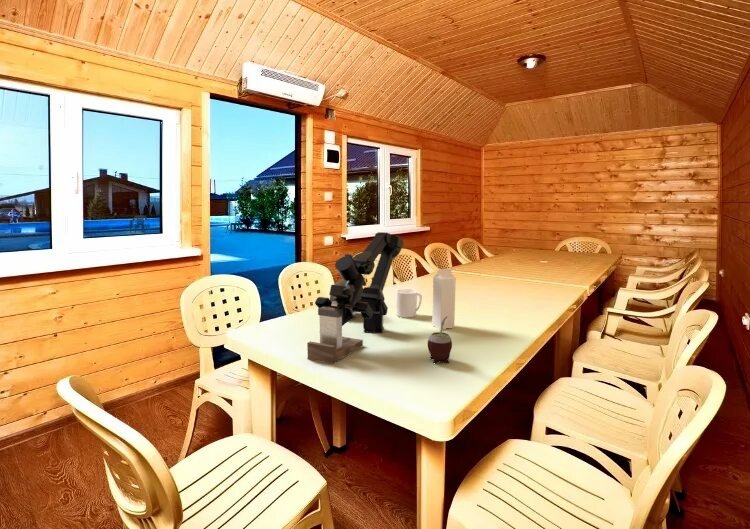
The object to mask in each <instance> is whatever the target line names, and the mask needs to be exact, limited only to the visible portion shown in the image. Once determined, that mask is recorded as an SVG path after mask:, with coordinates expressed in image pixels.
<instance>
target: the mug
mask: <svg viewBox="0 0 750 529" xmlns="http://www.w3.org/2000/svg"><path fill="white" fill-rule="evenodd" d="M418 296H419V301H418ZM422 300H423V297H422V294H421V293H419V292H418V291H417V290H416V289H413V288H412V289H411V288H400V289H396V290H395V310H396V311H395V312H396V313H395V315H396V317H397V316H398V317H397V318H400V317H402V319H413V318H416V315H417V312H418V311H419V309H420V307H421V304H422V302H423V301H422ZM418 302H419V303H418ZM412 317H413V318H412Z"/></svg>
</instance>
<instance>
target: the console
mask: <svg viewBox="0 0 750 529" xmlns="http://www.w3.org/2000/svg"><path fill="white" fill-rule="evenodd" d="M363 340H364V339H361V338H354V337H353V338H352V337H347V336H342V348H340V349H338V350H336V346H334V345H328V344H323V343H320V342H316V341H312V340H311V341H309V342H307V359H308V360H311V361H315V362H316V361H318V362H321V363H327V364H331V365H335V364H336V363H337V362H339V361H340V359H341V360H343V359H344V358H345V357H347V356H348V354H349V355H350V354H352V353H353V351H354V352H355V351H357V350H358V349H360V348H361V346H362V347H363V346H364V342H363ZM356 349H357V350H356ZM343 357H344V358H343ZM338 360H339V361H338ZM335 362H336V363H335Z"/></svg>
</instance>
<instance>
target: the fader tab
mask: <svg viewBox="0 0 750 529" xmlns="http://www.w3.org/2000/svg"><path fill="white" fill-rule="evenodd" d="M317 315H318V316H319V343H323V344H328V345H334V346H336V350H338V349H340V348H342V337H343V326H342V316H343V309H339V308H331V307H321V308H318V307H317Z"/></svg>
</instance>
